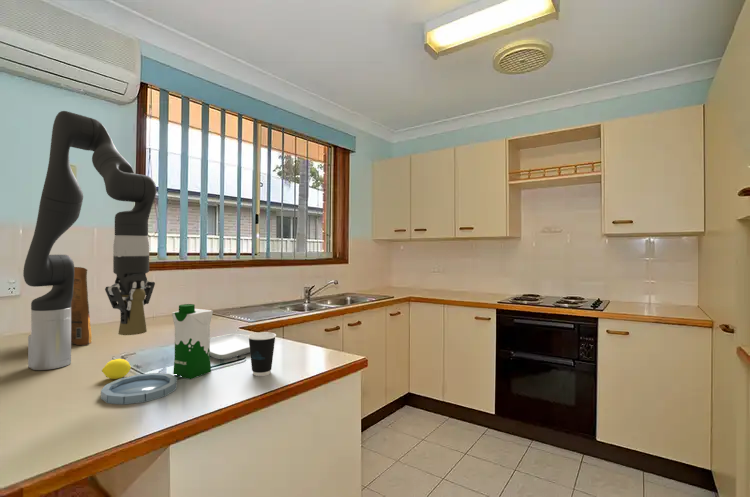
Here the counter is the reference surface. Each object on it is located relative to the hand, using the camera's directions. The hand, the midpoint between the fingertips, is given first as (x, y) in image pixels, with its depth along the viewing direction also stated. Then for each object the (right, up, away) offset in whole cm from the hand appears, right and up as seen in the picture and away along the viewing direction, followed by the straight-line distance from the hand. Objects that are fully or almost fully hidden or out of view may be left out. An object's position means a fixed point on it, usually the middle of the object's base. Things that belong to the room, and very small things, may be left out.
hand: (131, 323), depth 96 cm
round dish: (+1, -17, +2) cm, 17 cm away
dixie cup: (+27, -18, +16) cm, 37 cm away
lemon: (-11, -17, +11) cm, 23 cm away
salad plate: (+9, -17, +39) cm, 44 cm away
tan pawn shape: (0, -2, 0) cm, 2 cm away
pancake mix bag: (-50, -16, +47) cm, 71 cm away
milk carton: (+8, -17, +15) cm, 24 cm away
